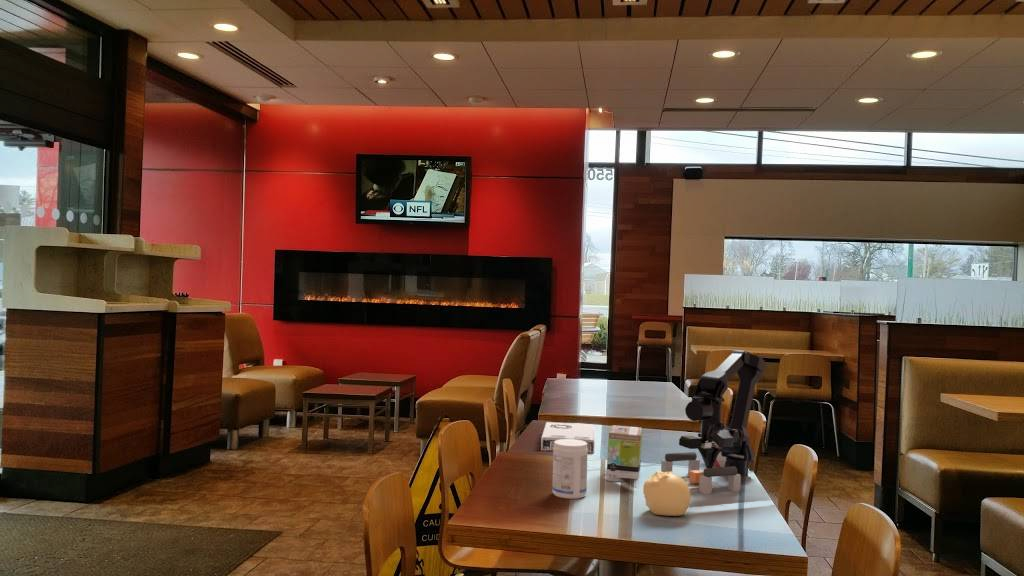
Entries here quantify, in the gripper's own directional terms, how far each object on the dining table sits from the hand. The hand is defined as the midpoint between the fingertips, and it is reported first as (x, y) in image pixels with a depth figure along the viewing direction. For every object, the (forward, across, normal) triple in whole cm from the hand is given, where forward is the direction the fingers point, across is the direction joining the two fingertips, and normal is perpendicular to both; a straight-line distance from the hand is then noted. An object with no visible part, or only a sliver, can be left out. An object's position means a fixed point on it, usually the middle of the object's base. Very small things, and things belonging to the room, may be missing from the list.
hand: (709, 470), depth 218 cm
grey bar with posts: (+5, -4, -10) cm, 11 cm away
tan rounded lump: (+5, -28, -19) cm, 34 cm away
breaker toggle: (+4, -4, 0) cm, 6 cm away
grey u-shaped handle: (+5, -4, +10) cm, 11 cm away
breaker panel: (+5, -6, 0) cm, 8 cm away
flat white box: (+6, -13, +67) cm, 69 cm away
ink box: (+5, +21, +22) cm, 31 cm away
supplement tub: (+5, -45, +3) cm, 45 cm away
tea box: (+5, -19, +17) cm, 26 cm away
